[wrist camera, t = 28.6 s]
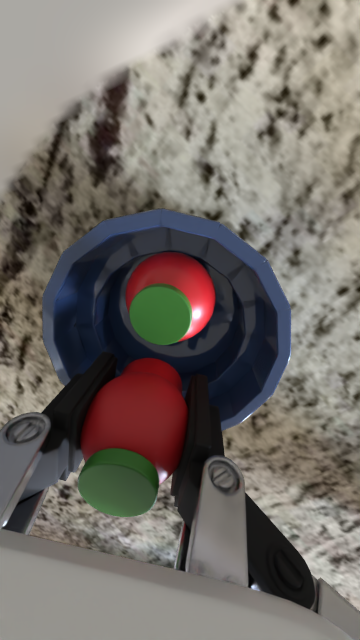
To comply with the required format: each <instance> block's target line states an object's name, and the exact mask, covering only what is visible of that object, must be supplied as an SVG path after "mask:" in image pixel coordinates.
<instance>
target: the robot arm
mask: <svg viewBox="0 0 360 640" xmlns="http://www.w3.org/2000/svg"><path fill="white" fill-rule="evenodd" d="M117 360H118V358H117V357H114V354H113V353H108V352H104V351H103V352H102V353H101V354H100V355H99V356H98V357H97V358H96V360H95V361H94V362H93V363H92V364H91V366H90V367H89V368H88V369H87V370H86V372H85V373H84V374H79V373H78V374H76V375H75V376H74V377H73V378H72V379H71V380H70V381H69V383H68V384H67V385H66V386H65V387H64V388H63V389H62V390H61V391H60V393H59V394H58V395H57V396H56V397H55V398H54V399H53V400H52V402H51V403H50V404H49V405H48V406H47V407H46V408H45V409H44V410H43V412H42V413H38V412H30V413H25V414H22V415H19V416H17V417H15V418H13V419H11V420H10V421H8V422H7V423H6V424H5V425H4V426H3V428H2V429H1V430H0V640H360V611H359V610H357V609H356V608H355V607H354V606H353V605H352V604H350V603H349V602H348V601H347V600H346V599H345V598H344V597H342V596H341V595H340V594H339V593H338V592H337V591H336V590H334V589H333V588H332V587H331V586H330V585H329V584H327V583H326V582H325V581H324V580H323V579H322V578H321V577H320V579H319V580H317V579H316V578H315V577H314V576H313V575H311V572H310V570H309V568H308V566H307V564H306V562H305V560H304V559H303V558H302V556H301V555H300V554H299V552H298V551H297V550H296V549H295V547H294V546H293V545H292V544H291V543H290V542H289V541H288V540H287V538H286V537H285V536H284V535H283V534H282V533H281V532H280V531H279V530H278V528H277V527H276V526H275V525H274V524H273V523H272V522H271V521H270V519H269V518H268V517H267V516H266V515H265V514H264V513H263V512H262V510H261V509H260V508H259V507H258V506H257V505H256V504H255V503H254V501H253V500H252V499H251V498H250V497H249V496H248V495H247V494H246V493H245V482H244V477H243V475H242V472H241V470H240V469H239V467H238V466H237V465H236V464H235V463H234V462H233V461H232V460H230V459H229V458H227V457H225V455H224V446H223V438H222V429H221V421H220V412H219V407H218V406H214V405H210V404H209V394H208V378H207V376H205V375H201V374H196V375H195V376H193V375H192V376H191V379H190V382H189V386H188V389H187V393H186V396H185V399H184V400H185V402H186V404H187V407H188V423H187V431H186V437H185V442H184V447H183V452H182V456H181V459H180V463H179V465H178V467H177V469H176V470H175V471H174V472H173V475H172V484H171V495H172V496H175V503H174V506H175V507H178V512H179V514H180V515H181V517H182V518H183V523H182V528H181V533H180V538H179V544H178V549H177V554H176V559H175V564H174V569H171V568H167V567H163V566H158V565H154V564H150V563H146V562H142V561H138V560H133V559H129V558H125V557H121V556H116V555H112V554H108V553H104V552H99V551H95V550H91V549H86V548H82V547H78V546H74V545H69V544H65V543H61V542H56V541H52V540H48V539H43V538H39V537H35V536H30V535H29V534H30V531H31V529H32V527H33V525H34V522H35V520H36V518H37V515H38V513H39V511H40V508H41V506H42V504H43V501H44V499H45V497H46V494H47V492H48V490H49V486H51V485H53V484H55V483H57V482H58V480H59V479H60V480H64V481H66V480H67V478H68V476H69V474H70V472H75V471H76V470H77V468H78V466H79V465H80V463H81V461H82V459H83V455H82V451H81V444H80V437H81V431H82V427H83V424H84V420H85V417H86V414H87V412H88V409H89V407H90V405H91V403H92V400H93V399H94V397H95V395H96V394H97V392H98V391H99V390H100V389H101V388H102V387H103V386H104V385H105V384H106V383H108V382H109V381H111V380H113V379H114V378H115V375H116V368H117Z"/></svg>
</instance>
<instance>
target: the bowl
mask: <svg viewBox="0 0 360 640" xmlns="http://www.w3.org/2000/svg"><path fill="white" fill-rule="evenodd" d="M163 252H178V253H183V254H186V255H188V256H190V257H192V258H194V259H195V260H197V261H198V262H199V263H201V264H202V265H203V266H204V268H205V269H206V270H207V271H208V273H209V274H210V276H211V278H212V281H213V284H214V288H215V295H216V300H215V307H214V311H213V314H212V316H211V318H210V320H209V322H208V323H207V324H206V326H205V327H204V328H203V329H202V330H201V331H200V332H199V333H197V334H196V335H194V336H193V337H191V338H189V339H186V340H183V341H179V342H175V343H173V344H169V345H157V344H153V343H150V342H148V341H146V340H144V339H143V338H142V337H140V336H139V335H138V334H137V332H136V331H135V330H134V328H133V326H132V324H131V321H130V317H129V313H128V310H127V306H126V299H125V297H126V287H127V283H128V281H129V278H130V276H131V274H132V273H133V271H134V270H135V268H136V267H137V266H138V265H139V264H140V263H141V262H143V261H144V260H145V259H147V258H149V257H150V256H153V255H155V254H159V253H163ZM42 321H43V343H44V345H45V347H46V350H47V352H48V354H49V357H50V359H51V362H52V364H53V366H54V369H55V371H56V373H57V376H58V378H59V379H60V381H61V382H62V384H63V385H64V386H66V385H67V384H68V383H69V381H70V380H71V379H72V378H73V377H74V376H75V375H76V374H78V373H79V374H84V373H85V372H86V370H87V369H88V368H89V367H90V366H91V364H92V363H93V362H94V361H95V360H96V358H97V357H98V356H99V355H100V354H101V353H102V352H103V351H104V352H108V353H113V354H114V357H117V358H118V360H117V368H116V375H115V378H116V377H118V376H120V375H121V373H122V371H123V370H124V368H125V367H126V366H127V365H128V364H130V363H131V362H133V361H135V360H138V359H142V358H155V359H159V360H162V361H164V362H166V363H168V364H169V365H171V366H172V367H173V368H174V369H175V370H176V371H177V373H178V374H179V376H180V378H181V381H182V396H183V398H184V399H185V396H186V393H187V389H188V386H189V382H190V379H191V376H192V375H193V376H195V375H196V374H201V375H205V376H207V378H208V394H209V404H210V405H214V406H218V407H219V412H220V421H221V429H222V431H223V430H225V429H228V428H230V427H233V426H236V425H238V424H240V423H242V422H243V421H244V420H245V419H246V418H248V417H249V416H250V415H251V414H252V413H253V412H254V411H255V410H257V409H258V408H259V407H260V406H261V405H262V404H263V403H264V402H266V401H267V400H268V399H269V398H270V397H271V396H272V395H273V393H274V391H275V389H276V387H277V385H278V383H279V381H280V378H281V376H282V374H283V372H284V370H285V368H286V366H287V364H288V362H289V359H290V357H291V356H290V355H291V308H290V305H289V303H288V301H287V299H286V297H285V294H284V292H283V290H282V288H281V286H280V284H279V282H278V280H277V278H276V276H275V274H274V272H273V270H272V268H271V266H270V264H269V262H268V260H266V258H265V257H264V256H263V255H261V254H260V253H259V252H257V251H256V250H255V249H254V248H252V247H251V246H250V245H249V244H247V243H246V242H245V241H244V240H242V239H241V238H240V237H239V236H237V235H236V234H235V233H233V232H232V231H231V230H230V229H228V228H227V227H226V226H225V225H223V224H222V223H220V222H217V221H213V220H209V219H205V218H201V217H197V216H192V215H188V214H184V213H180V212H176V211H172V210H167V209H163V208H162V209H154V210H149V211H144V212H140V213H135V214H130V215H125V216H120V217H115V218H111V219H106V220H105V221H102V222H100V223H99V224H98V225H97V226H95V227H94V228H93V229H92V230H90V231H89V232H88V233H86V234H85V235H84V236H83V237H81V238H80V239H79V240H78V241H76V242H75V243H74V244H72V245H71V246H70V247H69V248H67V249H66V250H65V251H64V252H63V254H62V255H61V257H60V259H59V261H58V263H57V265H56V268H55V270H54V272H53V274H52V276H51V278H50V281H49V283H48V285H47V287H46V289H45V291H44V293H43V297H42Z"/></svg>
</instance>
